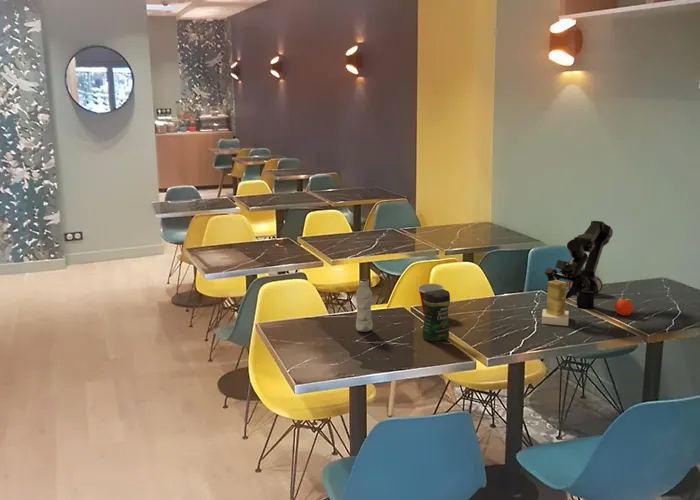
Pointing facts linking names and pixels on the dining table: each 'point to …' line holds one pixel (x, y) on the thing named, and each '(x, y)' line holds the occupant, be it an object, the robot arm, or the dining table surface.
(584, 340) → the dining table surface
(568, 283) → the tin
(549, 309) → the pillar block
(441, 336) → the coffee jar
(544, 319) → the plinth
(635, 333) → the dining table surface
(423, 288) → the plastic cup
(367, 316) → the plastic bottle
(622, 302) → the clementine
